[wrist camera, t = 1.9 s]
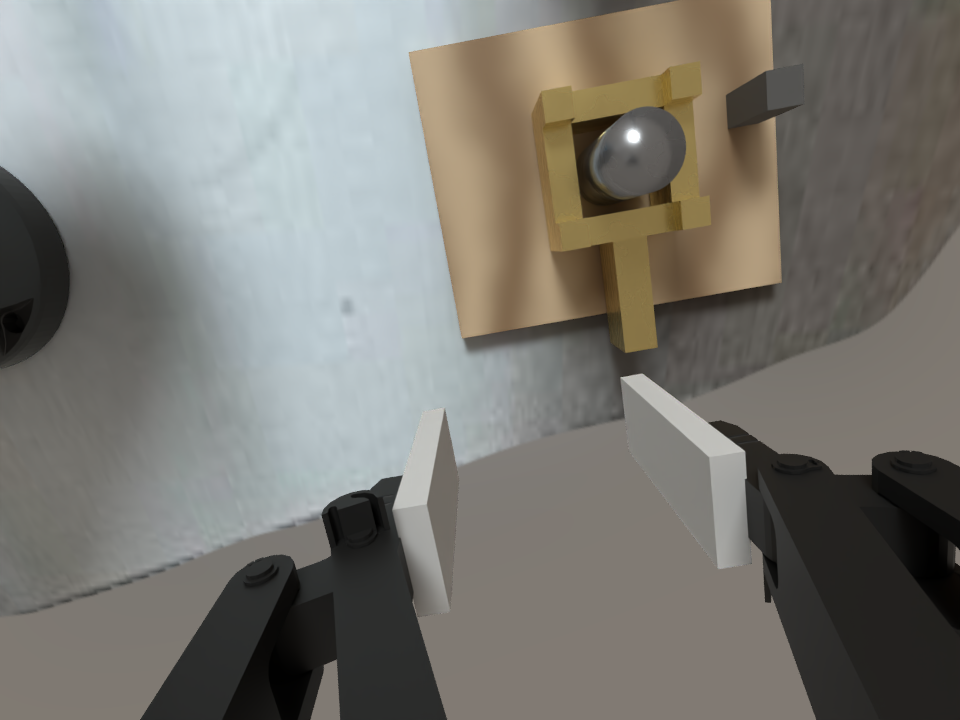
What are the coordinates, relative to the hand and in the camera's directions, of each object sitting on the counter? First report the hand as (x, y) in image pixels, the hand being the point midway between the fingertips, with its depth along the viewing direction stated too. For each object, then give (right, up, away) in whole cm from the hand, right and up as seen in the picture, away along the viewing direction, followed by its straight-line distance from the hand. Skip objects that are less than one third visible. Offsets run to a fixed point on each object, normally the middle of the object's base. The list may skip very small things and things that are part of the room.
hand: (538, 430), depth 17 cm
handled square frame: (+7, +11, +15) cm, 20 cm away
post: (+6, +15, +16) cm, 23 cm away
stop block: (+14, +18, +14) cm, 27 cm away
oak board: (+6, +15, +16) cm, 23 cm away
